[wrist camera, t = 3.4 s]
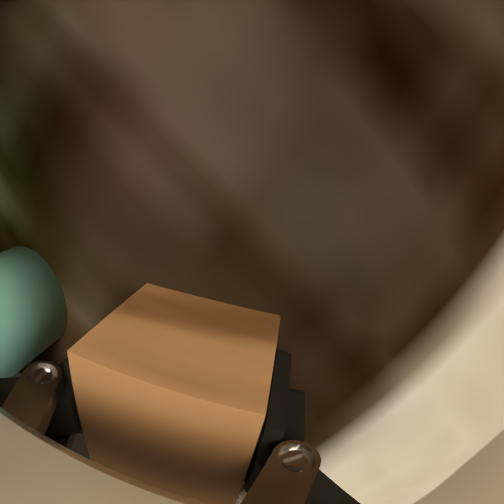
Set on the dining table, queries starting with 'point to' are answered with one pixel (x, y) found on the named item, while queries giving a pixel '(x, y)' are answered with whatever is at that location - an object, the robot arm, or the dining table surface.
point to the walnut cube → (176, 391)
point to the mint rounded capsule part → (27, 308)
